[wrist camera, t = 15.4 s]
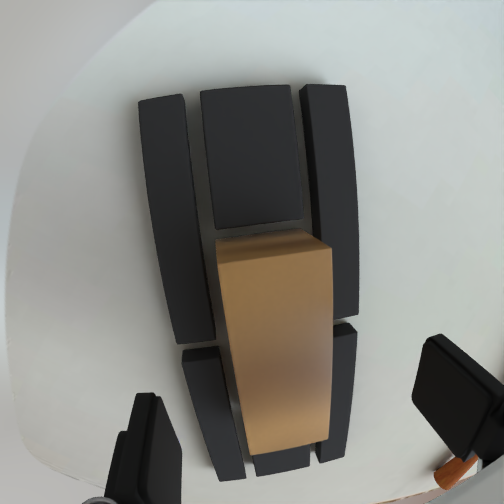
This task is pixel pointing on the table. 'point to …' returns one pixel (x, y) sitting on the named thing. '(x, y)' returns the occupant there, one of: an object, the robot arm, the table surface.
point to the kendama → (453, 471)
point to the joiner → (279, 334)
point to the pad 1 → (249, 185)
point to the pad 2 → (222, 423)
